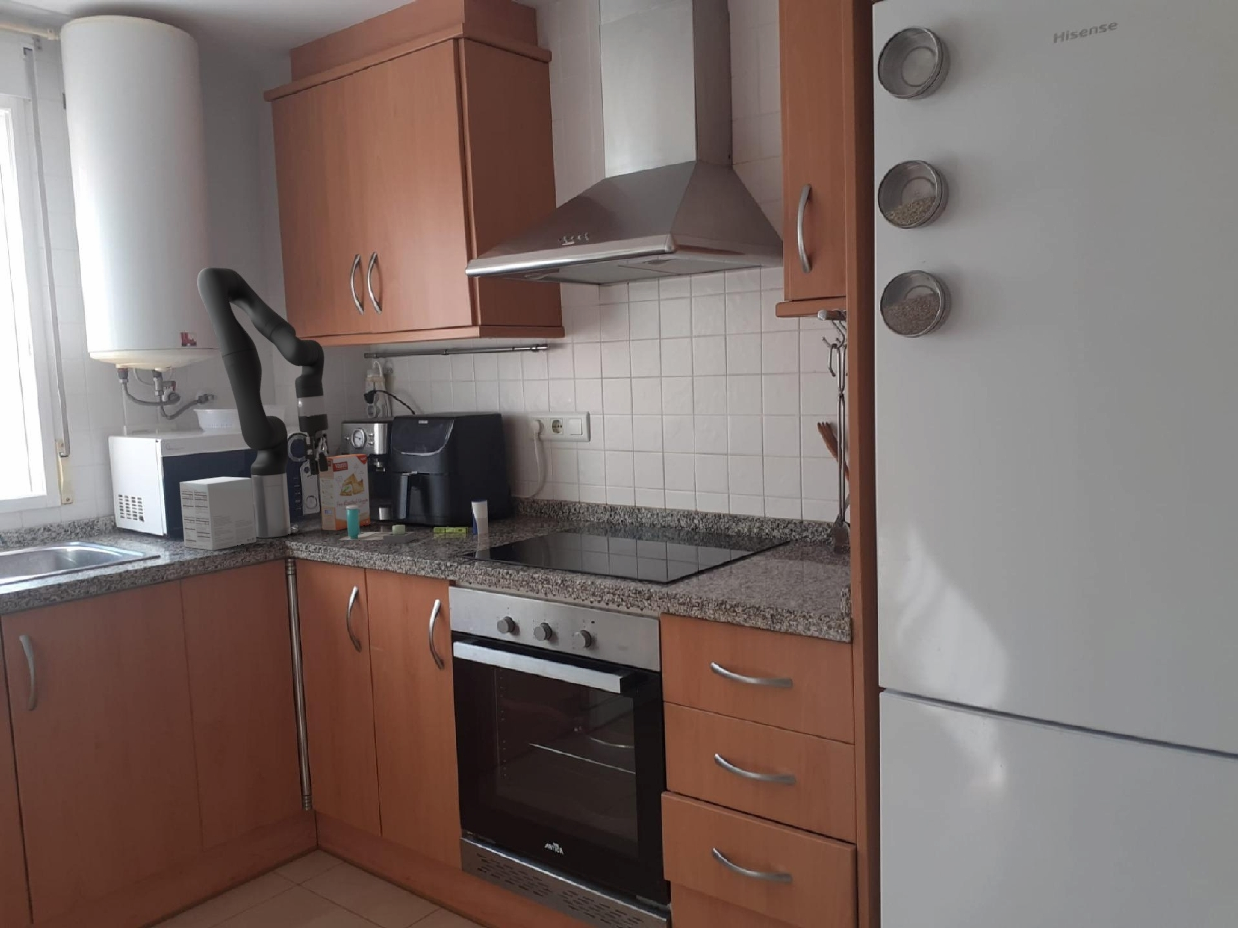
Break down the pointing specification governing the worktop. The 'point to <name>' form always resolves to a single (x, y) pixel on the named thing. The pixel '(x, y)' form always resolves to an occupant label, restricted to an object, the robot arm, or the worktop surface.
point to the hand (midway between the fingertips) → (319, 473)
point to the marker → (353, 521)
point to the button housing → (399, 538)
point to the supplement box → (217, 512)
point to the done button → (398, 529)
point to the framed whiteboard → (368, 536)
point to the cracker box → (344, 490)
